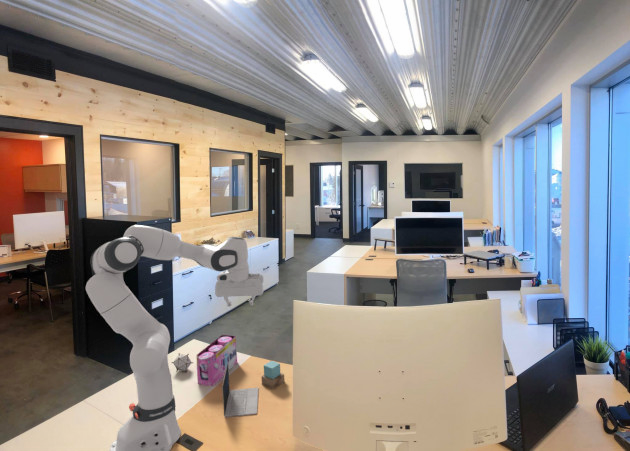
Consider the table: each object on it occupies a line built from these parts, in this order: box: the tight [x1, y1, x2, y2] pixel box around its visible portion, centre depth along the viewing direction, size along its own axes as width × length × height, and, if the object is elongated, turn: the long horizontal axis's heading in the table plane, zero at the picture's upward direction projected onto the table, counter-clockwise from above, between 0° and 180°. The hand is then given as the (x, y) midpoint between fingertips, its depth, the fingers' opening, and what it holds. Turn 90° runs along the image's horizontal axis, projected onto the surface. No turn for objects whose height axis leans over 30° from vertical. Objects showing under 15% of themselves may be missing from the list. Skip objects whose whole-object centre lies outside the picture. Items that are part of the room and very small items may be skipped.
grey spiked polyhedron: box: [171, 352, 194, 373], centre depth 180 cm, size 9×8×10 cm
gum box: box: [196, 334, 238, 387], centre depth 177 cm, size 24×8×14 cm, turn 163°
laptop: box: [221, 363, 260, 418], centre depth 153 cm, size 18×12×13 cm
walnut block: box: [261, 372, 286, 390], centre depth 167 cm, size 7×7×4 cm
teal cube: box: [263, 360, 281, 379], centre depth 167 cm, size 5×5×5 cm
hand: (240, 305), depth 165 cm, fingers open, 8 cm apart
